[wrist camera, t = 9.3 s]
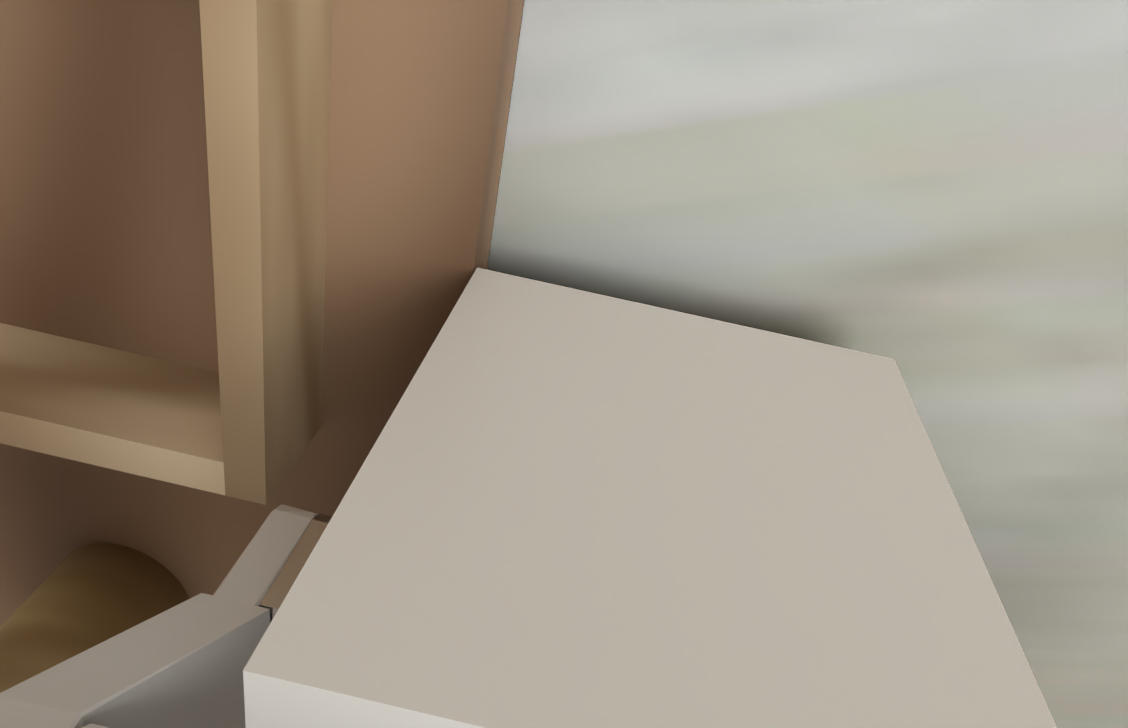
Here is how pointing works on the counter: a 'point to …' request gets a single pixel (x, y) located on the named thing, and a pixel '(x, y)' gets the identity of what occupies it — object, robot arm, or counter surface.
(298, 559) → the robot arm
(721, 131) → the counter surface
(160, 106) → the board
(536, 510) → the block
